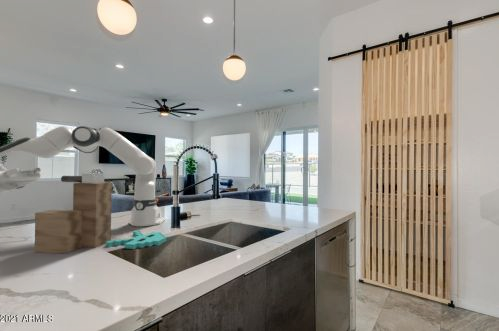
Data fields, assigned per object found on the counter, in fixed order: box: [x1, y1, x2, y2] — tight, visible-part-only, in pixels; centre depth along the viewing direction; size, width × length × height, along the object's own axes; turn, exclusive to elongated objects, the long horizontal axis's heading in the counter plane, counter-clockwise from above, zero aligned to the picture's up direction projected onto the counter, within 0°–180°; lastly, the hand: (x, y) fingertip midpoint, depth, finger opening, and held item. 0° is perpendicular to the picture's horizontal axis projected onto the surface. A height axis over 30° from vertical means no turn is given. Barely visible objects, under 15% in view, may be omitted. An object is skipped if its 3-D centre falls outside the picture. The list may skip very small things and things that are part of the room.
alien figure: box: [105, 230, 167, 250], centre depth 115 cm, size 20×2×20 cm
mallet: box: [60, 172, 105, 183], centre depth 112 cm, size 7×16×4 cm, turn 85°
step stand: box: [34, 181, 113, 254], centre depth 108 cm, size 18×19×26 cm
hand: (29, 169), depth 113 cm, fingers open, 8 cm apart
